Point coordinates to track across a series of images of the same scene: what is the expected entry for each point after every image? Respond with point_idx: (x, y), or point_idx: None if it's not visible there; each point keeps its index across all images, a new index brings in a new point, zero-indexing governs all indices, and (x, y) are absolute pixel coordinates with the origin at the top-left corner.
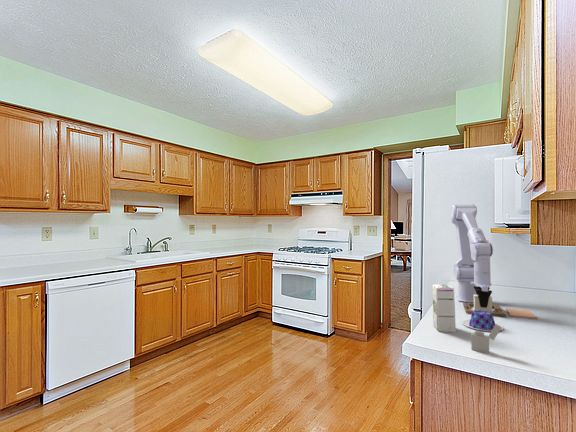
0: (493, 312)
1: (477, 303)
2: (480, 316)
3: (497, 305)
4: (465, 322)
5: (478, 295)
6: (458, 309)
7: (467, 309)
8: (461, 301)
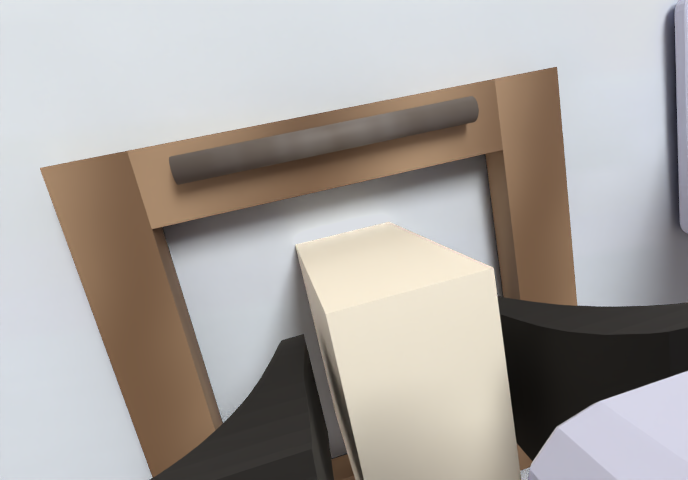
0: None
1: (315, 309)
2: None
3: None
4: None
5: (199, 451)
6: (239, 41)
7: (155, 174)
8: (675, 39)
